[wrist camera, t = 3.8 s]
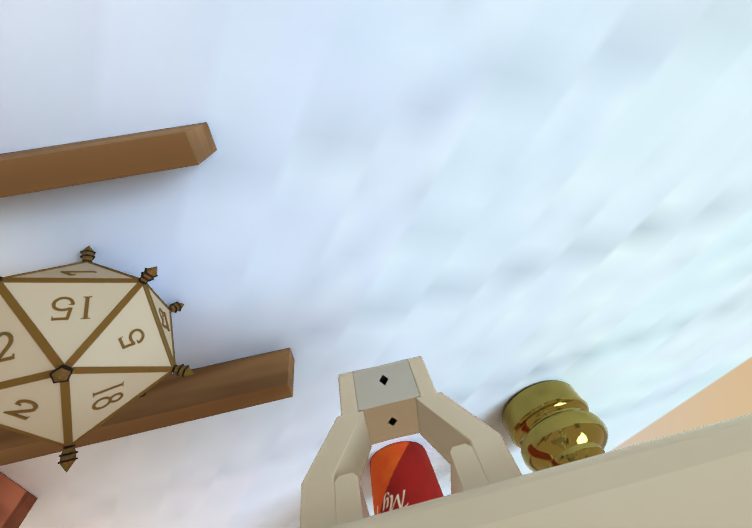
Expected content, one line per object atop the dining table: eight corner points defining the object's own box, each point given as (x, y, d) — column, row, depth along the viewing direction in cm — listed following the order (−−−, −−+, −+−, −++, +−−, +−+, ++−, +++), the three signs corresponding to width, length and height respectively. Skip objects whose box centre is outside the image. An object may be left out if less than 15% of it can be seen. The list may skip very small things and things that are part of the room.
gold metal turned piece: (526, 436, 34) (601, 558, 25) (485, 415, 30) (554, 548, 22) (585, 394, 32) (687, 511, 23) (547, 367, 28) (651, 492, 20)
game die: (177, 281, 22) (179, 443, 18) (-15, 280, 17) (-64, 506, 13) (199, 208, 16) (209, 434, 12) (-97, 171, 10) (-239, 551, 7)
